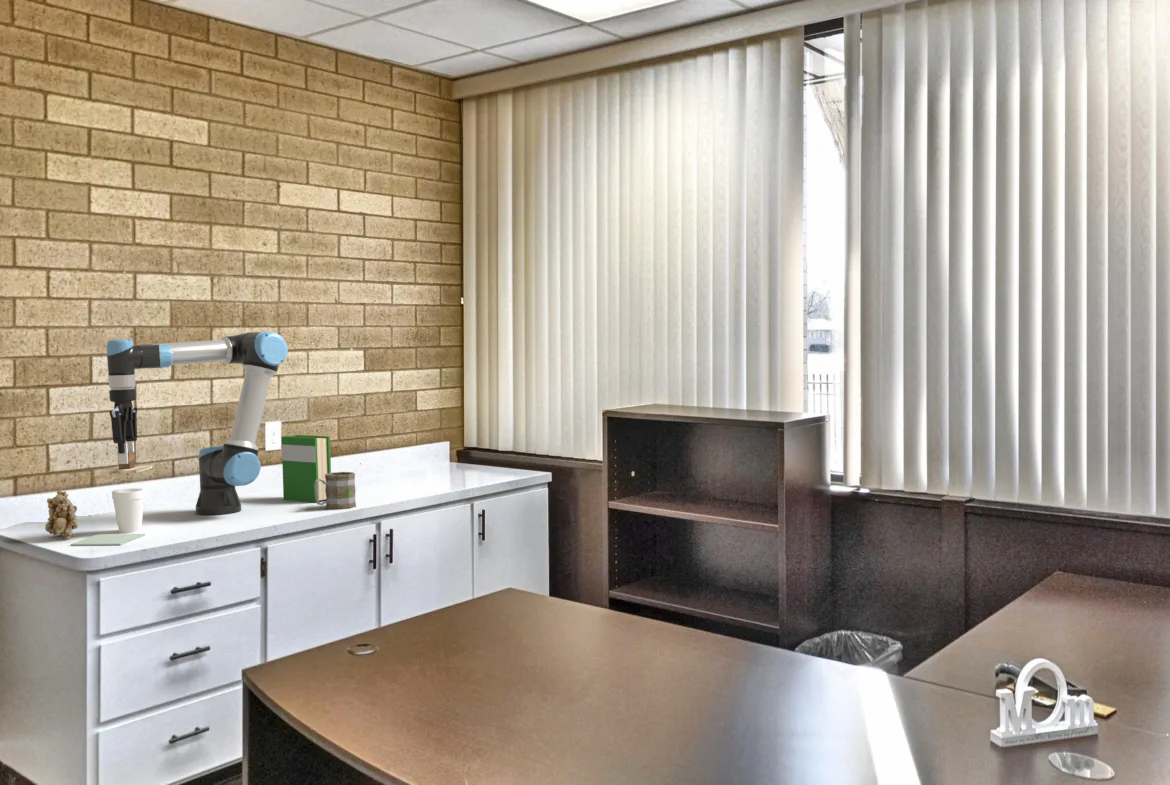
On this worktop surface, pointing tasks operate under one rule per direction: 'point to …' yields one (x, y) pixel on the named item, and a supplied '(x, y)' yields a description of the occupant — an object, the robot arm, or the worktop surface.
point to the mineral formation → (61, 515)
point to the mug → (338, 490)
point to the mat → (107, 539)
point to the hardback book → (305, 466)
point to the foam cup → (129, 509)
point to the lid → (127, 466)
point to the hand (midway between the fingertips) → (126, 462)
